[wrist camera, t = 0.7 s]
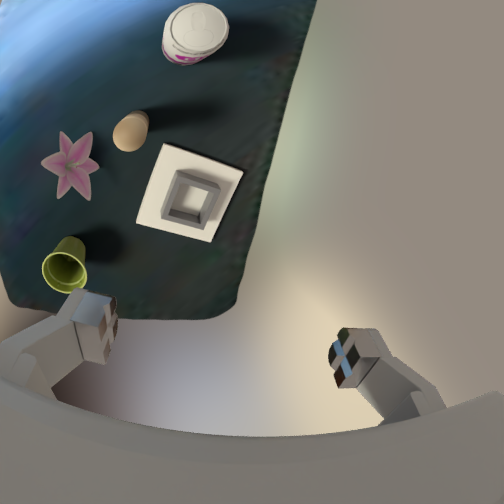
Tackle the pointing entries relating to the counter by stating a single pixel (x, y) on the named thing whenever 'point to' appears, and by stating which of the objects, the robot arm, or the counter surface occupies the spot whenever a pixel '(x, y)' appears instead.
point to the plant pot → (66, 266)
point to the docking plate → (187, 193)
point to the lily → (72, 165)
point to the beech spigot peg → (131, 131)
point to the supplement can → (194, 33)
